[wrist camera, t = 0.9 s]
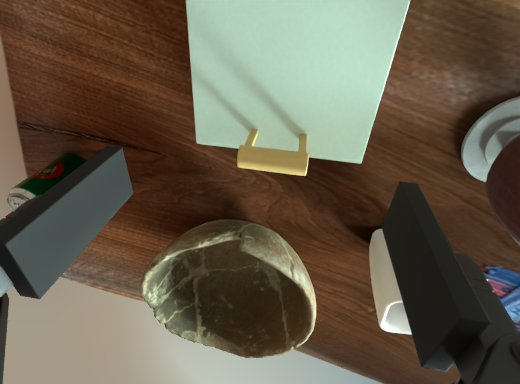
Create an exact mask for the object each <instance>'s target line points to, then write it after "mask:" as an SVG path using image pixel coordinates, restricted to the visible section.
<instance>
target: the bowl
mask: <svg viewBox="0 0 520 384" xmlns="http://www.w3.org/2000/svg"><path fill="white" fill-rule="evenodd" d="M141 294H142V296H143V298H144V300H145V301H147V303H148V305H149V306H150V307H151V308H153V309H154V316H155V318H156V319H157V320H158V321H159V322H160V323H164V324H165V327H166V329H168V330H169V331H170V332H171V333H173V334H176V335H178V336H180V337H182V338H184V339H187V340H190V341H192V342H197V343H201V344H203V345H205V346H211V347H215V348H217V349H220V350H223V351H226V352H229V353H233V354H235V355H238V356H242V357H245V358H263V357H267V356H275V355H281V354H284V353H287V352H289V351H291V350H292V349H293V347H294V348H297V347H299V346H300V345H302V344H303V343H304V342H305V341H306V340H307V339H308V338H309V336H310V335H311V333H312V331H313V329H314V324H315V318H316V299H315V293H314V289H313V286H312V283H311V280H310V278H309V275H308V273H307V270H306V268H305V267H304V265H303V263H302V261H301V260H300V258H299V257H298V255H297V254H296V252H295V251H294V250H293V249H292V247H291V246H290V245H289V244H288V243H287V242H286V241H285V240H284V239H283V238H281V237H280V236H279V234H277V233H276V232H274V231H272V230H270V229H269V228H266V227H264V226H262V225H258V224H255V223H251V222H247V221H242V220H233V219H222V220H216V221H211V222H207V223H204V224H202V225H200V226H197V227H195V228H193V229H191V230H189V231H188V232H186V233H184V234H183V235H181V236H180V237H178V238H177V239H176V240H175V241H173V242H172V243H171V244H169V245H168V246H167V247H166V248H165V249H164V250H162V251H161V252H160V253H159V254H158V255H157V256H156V257H155V258H154V259H153V260H152V261H151V262H150V264H149V265H148V267H147V268H146V270H145V272H144V274H143V277H142V280H141Z"/></svg>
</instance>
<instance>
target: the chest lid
mask: <svg viewBox="0 0 520 384" xmlns="http://www.w3.org/2000/svg"><path fill="white" fill-rule="evenodd" d="M409 3H410V0H186V10H187V24H188V37H189V50H190V64H191V77H192V91H193V104H194V118H195V131H196V143H197V144H205V145H213V146H221V147H229V148H238V155H237V166H238V167H239V168H246V169H254V170H262V171H269V172H277V173H285V174H293V175H301V176H305V175H306V172H307V167H308V159H309V157H311V158H319V159H327V160H335V161H344V162H352V163H360V164H361V162H362V159H363V155H364V152H365V149H366V146H367V142H368V139H369V136H370V132H371V129H372V126H373V122H374V119H375V116H376V112H377V109H378V106H379V102H380V99H381V96H382V92H383V89H384V86H385V83H386V79H387V76H388V73H389V69H390V66H391V63H392V59H393V56H394V53H395V49H396V46H397V43H398V39H399V36H400V33H401V30H402V26H403V23H404V20H405V16H406V13H407V10H408V6H409Z"/></svg>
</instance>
